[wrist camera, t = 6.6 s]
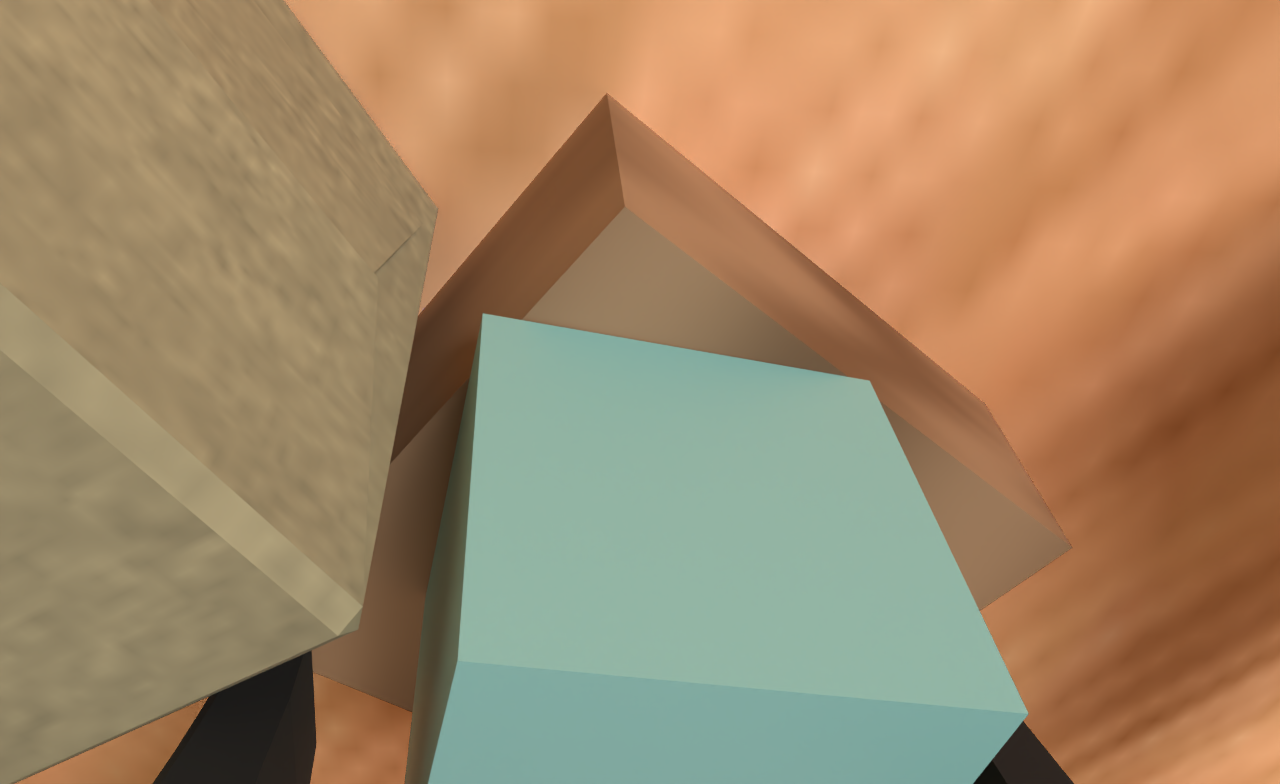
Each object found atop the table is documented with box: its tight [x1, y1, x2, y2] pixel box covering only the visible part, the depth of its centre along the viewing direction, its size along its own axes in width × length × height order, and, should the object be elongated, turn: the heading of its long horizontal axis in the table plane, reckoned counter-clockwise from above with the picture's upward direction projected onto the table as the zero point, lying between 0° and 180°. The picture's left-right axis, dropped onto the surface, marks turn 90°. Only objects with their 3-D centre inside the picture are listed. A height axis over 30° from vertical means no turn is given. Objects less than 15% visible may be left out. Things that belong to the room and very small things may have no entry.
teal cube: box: [405, 313, 1028, 784], centre depth 11 cm, size 5×5×5 cm
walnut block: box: [312, 94, 1072, 712], centre depth 16 cm, size 9×9×4 cm
